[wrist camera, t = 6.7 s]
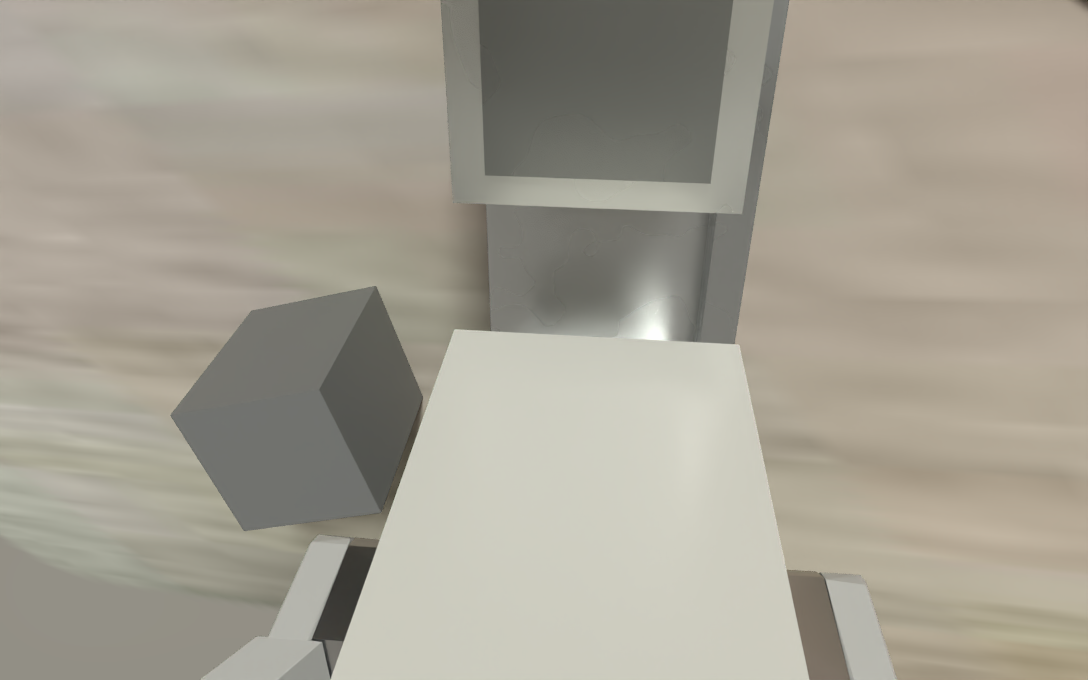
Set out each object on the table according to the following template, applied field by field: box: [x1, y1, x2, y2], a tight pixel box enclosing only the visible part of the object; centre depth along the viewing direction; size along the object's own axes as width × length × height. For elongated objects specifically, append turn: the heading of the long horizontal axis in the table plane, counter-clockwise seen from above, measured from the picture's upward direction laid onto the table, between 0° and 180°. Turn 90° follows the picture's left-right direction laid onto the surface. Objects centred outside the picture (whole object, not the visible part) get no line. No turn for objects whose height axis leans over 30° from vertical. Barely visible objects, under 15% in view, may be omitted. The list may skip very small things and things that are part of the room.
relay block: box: [170, 286, 423, 531], centre depth 22 cm, size 4×4×5 cm
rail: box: [440, 0, 789, 344], centre depth 17 cm, size 6×19×9 cm, turn 0°
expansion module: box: [330, 329, 809, 680], centre depth 10 cm, size 4×5×7 cm
